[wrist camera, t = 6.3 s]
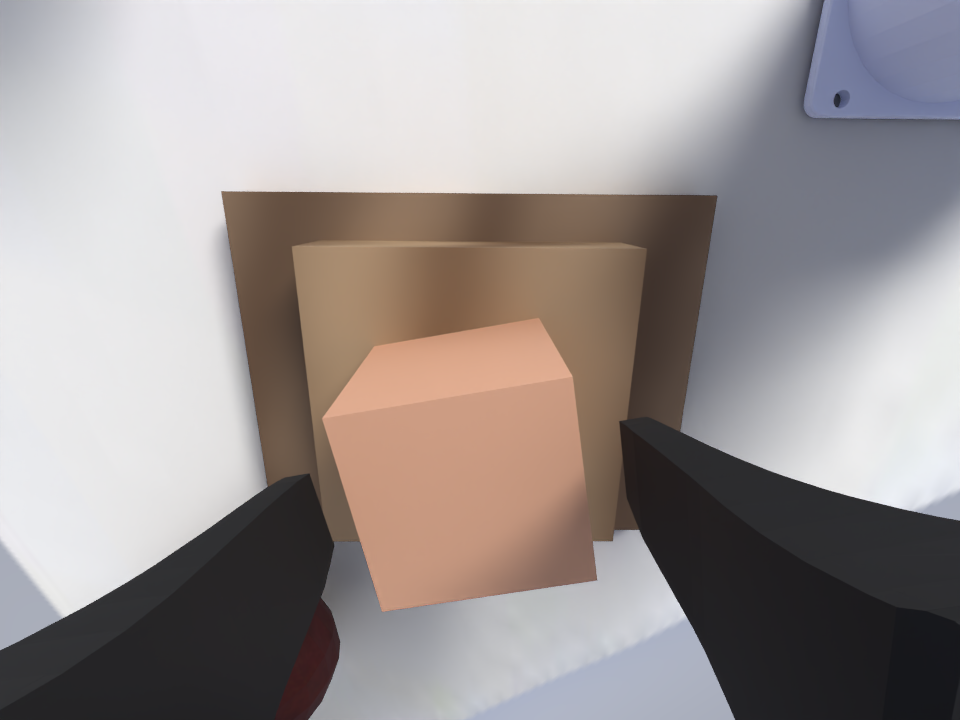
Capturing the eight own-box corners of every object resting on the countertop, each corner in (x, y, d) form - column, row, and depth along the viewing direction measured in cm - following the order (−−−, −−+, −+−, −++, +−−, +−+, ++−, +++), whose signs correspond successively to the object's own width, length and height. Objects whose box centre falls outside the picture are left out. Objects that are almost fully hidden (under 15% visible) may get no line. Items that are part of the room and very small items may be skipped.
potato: (183, 521, 21) (43, 672, 14) (359, 537, 21) (304, 691, 14) (196, 646, 23) (81, 827, 16) (354, 658, 23) (305, 840, 17)
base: (696, 196, 16) (762, 193, 13) (651, 507, 21) (691, 575, 17) (243, 192, 16) (173, 188, 12) (288, 507, 20) (245, 576, 17)
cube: (538, 318, 14) (572, 377, 9) (559, 464, 15) (597, 580, 11) (374, 346, 14) (322, 418, 9) (410, 487, 15) (382, 611, 11)
